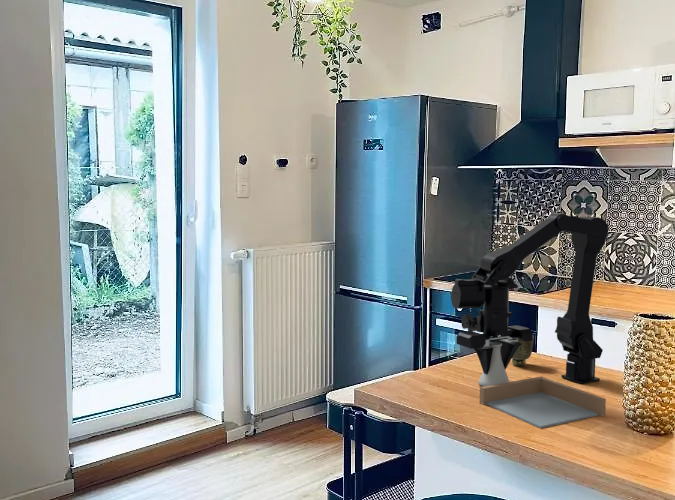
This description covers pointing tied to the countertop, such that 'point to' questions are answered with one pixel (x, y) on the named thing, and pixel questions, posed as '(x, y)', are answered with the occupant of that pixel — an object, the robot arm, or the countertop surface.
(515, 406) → the corner arena
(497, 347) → the flask
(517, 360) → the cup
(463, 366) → the countertop surface
